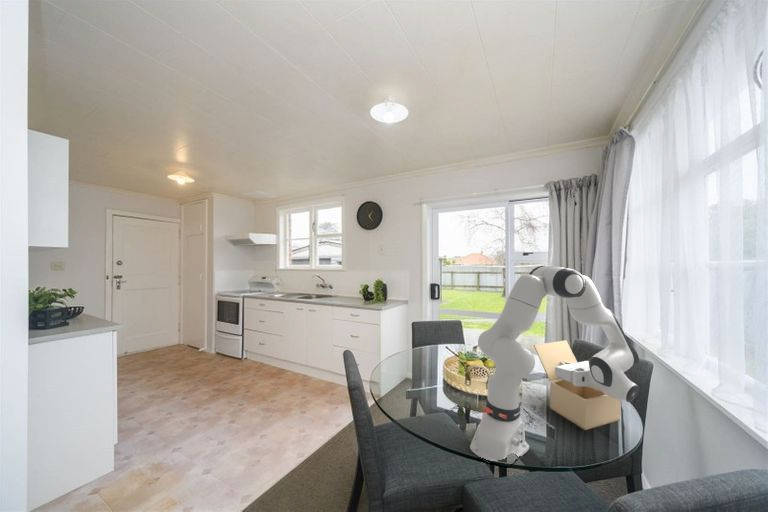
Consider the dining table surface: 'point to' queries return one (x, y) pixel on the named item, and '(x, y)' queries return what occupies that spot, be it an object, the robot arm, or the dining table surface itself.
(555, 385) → the carton
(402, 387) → the dining table surface
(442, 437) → the dining table surface
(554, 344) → the carton flap
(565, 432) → the dining table surface
